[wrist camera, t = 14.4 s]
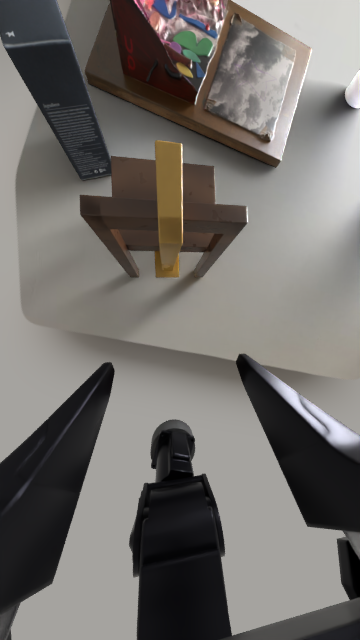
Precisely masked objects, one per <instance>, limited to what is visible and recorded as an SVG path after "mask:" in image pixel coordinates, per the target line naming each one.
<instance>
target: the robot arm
mask: <svg viewBox="0 0 360 640" xmlns="http://www.w3.org/2000/svg"><path fill="white" fill-rule="evenodd" d="M236 364H237V368H238V371H239V373H240V376H241V379H242V382H243V385H244V387H245V390H246V392H247V394H248V396H249V398H250V401H251V403H252V405H253V407H254V409H255V412H256V414H257V416H258V418H259V421H260V423H261V425H262V427H263V429H264V432H265V434H266V436H267V438H268V440H269V443H270V445H271V447H272V449H273V452H274V454H275V456H276V458H277V460H278V463H279V465H280V467H281V470H282V472H283V474H284V476H285V478H286V480H287V483H288V485H289V487H290V489H291V491H292V494H293V496H294V498H295V500H296V503H297V505H298V507H299V509H300V512H301V514H302V516H303V518H304V520H305V522H306V524H307V526H308V527H315V528H324V529H333V530H342V531H343V532H344V534H345V535H346V537H343V538H339V539H337V544H338V555H339V563H340V564H339V565H340V574H341V583H342V585H343V587H344V589H345V591H346V593H347V595H348V597H349V599H350V600H349V601H346V602H343V603H339V604H336V605H333V606H329V607H326V608H323V609H320V610H316V611H313V612H310V613H306V614H303V615H300V616H296V617H293V618H290V619H286V620H283V621H280V622H276V623H273V624H270V625H266V626H263V627H260V628H256V629H253V630H250V631H246V632H243V633H240V634H237V635H233V636H232V633H231V627H230V621H229V615H228V606H227V599H226V592H225V584H224V577H223V570H222V562H221V557H223V556H224V555H225V547H224V538H223V531H222V526H221V521H220V516H219V512H218V508H217V504H216V501H215V498H214V495H213V493H212V490H211V488H210V485H209V482H208V479H207V477H206V474H202V475H199V476H194V474H193V468H192V463H191V457H190V456H191V453H192V449H193V445H194V442H195V438H194V436H192V435H187V434H182V433H177V432H172V431H166V430H161V431H160V434H159V438H158V441H157V445H156V449H155V452H154V456H153V459H152V463H151V468H153V469H156V482H155V483H149V484H148V483H144V487H143V491H142V492H141V497H140V498H139V503H138V510H137V516H136V519H135V523H134V526H133V529H132V532H131V535H130V541H129V546H130V548H131V551H132V553H133V577H138V576H139V596H138V597H139V598H138V618H137V619H138V620H137V640H360V435H359V434H357V433H356V432H354V431H353V430H351V429H350V428H348V427H347V426H345V425H344V424H342V423H341V422H339V421H338V420H336V419H335V418H333V417H332V416H330V415H329V414H327V413H326V412H324V411H323V410H321V409H320V408H318V407H317V406H315V405H314V404H313V403H311V402H310V401H309V400H307V399H306V398H304V397H303V396H301V395H300V394H298V392H296V391H295V390H294V389H292V388H291V387H290V386H288V385H287V384H285V383H284V382H283V381H281V380H280V379H279V378H277V377H276V376H275V375H273V374H272V373H271V372H269V371H268V370H267V369H265V368H264V367H263V366H261V365H260V364H258V363H257V362H256V361H254V360H253V359H252V358H250V357H249V356H248V355H246V354H239V356H238V358H237V360H236ZM113 378H114V368H113V365H112V363H111V362H107V363H104V364H102V366H101V367H100V368H99V369H98V370H96V371H95V372H94V373H93V374H92V376H90V378H88V379H87V381H85V382H84V383H83V384H82V385H81V386H80V387H79V388H78V389H77V390H76V391H75V392H74V393H73V394H72V395H71V396H70V397H69V398H68V399H67V400H66V401H65V402H64V403H63V404H62V405H61V406H60V407H59V408H58V409H57V410H56V411H55V412H54V413H53V414H52V415H51V416H50V417H49V419H47V420H46V421H45V422H44V423H43V424H42V425H41V426H40V427H39V428H38V429H37V430H36V431H35V432H34V433H33V434H32V435H31V436H30V437H28V438H27V439H26V440H25V441H24V442H23V443H22V444H21V445H20V446H19V447H18V448H17V449H16V450H14V451H13V452H12V453H11V454H10V455H9V456H8V457H7V458H6V459H4V460H3V461H2V462H1V463H0V640H11V626H12V623H13V621H14V618H15V616H16V613H17V610H18V608H19V605H20V603H21V602H22V601H24V600H25V599H27V598H29V597H30V596H32V595H34V594H35V593H37V592H39V591H40V590H42V589H44V588H45V587H47V586H49V585H50V584H52V582H53V579H54V576H55V573H56V570H57V566H58V563H59V560H60V557H61V554H62V551H63V547H64V544H65V541H66V537H67V534H68V531H69V528H70V524H71V521H72V518H73V515H74V511H75V508H76V505H77V501H78V498H79V495H80V492H81V489H82V485H83V482H84V479H85V475H86V472H87V469H88V466H89V462H90V459H91V456H92V453H93V449H94V446H95V443H96V440H97V437H98V433H99V430H100V427H101V424H102V420H103V417H104V414H105V411H106V407H107V404H108V401H109V397H110V393H111V388H112V383H113ZM162 433H164V434H162ZM191 439H192V440H191ZM154 464H155V465H154Z"/></svg>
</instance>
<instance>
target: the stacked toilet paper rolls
mask: <svg viewBox="0 0 360 640" xmlns="http://www.w3.org/2000/svg"><path fill="white" fill-rule="evenodd" d="M345 98H346V101H347V102H348V104H349V105H350V106H351V107H353V108H360V69H359V71H358V72H357V74H356V75H355V77H354V78H353V80H352V81H351V83H350V84H349V86H348V87H347V89H346V91H345Z"/></svg>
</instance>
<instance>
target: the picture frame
mask: <svg viewBox="0 0 360 640" xmlns="http://www.w3.org/2000/svg"><path fill="white" fill-rule="evenodd" d="M311 51H312V48H310V47H308V46H307V45H305V44H304V43H302V42H300V41H298V40H297V39H295V38H294V37H292V36H290V35H289V34H287V33H285V32H283V31H282V30H280V29H278V28H277V27H275V26H273V25H272V24H270V23H268V22H266V21H265V20H263V19H262V18H260V17H258V16H257V15H255V14H253V13H251V12H250V11H248V10H246V9H245V8H243V7H241V6H239V5H238V4H236V3H234V2H233V1H231V0H110V3H109V5H108V8H107V11H106V13H105V16H104V19H103V21H102V24H101V27H100V30H99V32H98V35H97V38H96V41H95V43H94V46H93V49H92V51H91V54H90V57H89V59H88V62H87V65H86V68H85V74H86V77H87V80H88V83H89V84H91V85H93V86H96V87H97V88H100V89H102V90H104V91H107V92H109V93H111V94H113V95H115V96H118V97H120V98H122V99H124V100H126V101H129V102H131V103H133V104H135V105H138V106H140V107H142V108H144V109H146V110H149V111H151V112H154V113H155V114H157V115H160V116H162V117H165V118H166V119H169V120H171V121H174V122H176V123H177V124H180V125H182V126H185V127H187V128H189V129H191V130H194V131H196V132H198V133H200V134H202V135H205V136H207V137H209V138H211V139H214V140H216V141H218V142H220V143H222V144H225V145H227V146H229V147H231V148H234V149H236V150H238V151H240V152H243V153H245V154H247V155H249V156H251V157H254V158H256V159H258V160H260V161H263V162H265V163H266V164H269V165H271V166H274V167H275V168H276V167H277V166H278V165H279V163H280V162H281V159H282V156H283V152H284V148H285V145H286V141H287V137H288V134H289V130H290V127H291V123H292V119H293V116H294V112H295V108H296V105H297V101H298V97H299V94H300V90H301V87H302V83H303V80H304V76H305V73H306V69H307V66H308V62H309V58H310V54H311Z"/></svg>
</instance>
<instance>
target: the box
mask: <svg viewBox="0 0 360 640" xmlns="http://www.w3.org/2000/svg"><path fill="white" fill-rule="evenodd" d="M0 37H1V40H2V43H3V46H4V48H5V49H6V51H7V53H8V55H9V56H10V58H11V60H12V62H13V63H14V65H15V67H16V69H17V70H18V72H19V74H20V76H21V77H22V79H23V80H24V83H25V84H26V86H27V87H28V89H29V91H30V92H31V94H32V96H33V98H34V100H35V101H36V103H37V105H38V107H39V108H40V110H41V112H42V113H43V115H44V117H45V119H46V120H47V122H48V124H49V125H50V127H51V129H52V131H53V132H54V134H55V136H56V138H57V139H58V141H59V143H60V144H61V146H62V148H63V149H64V151H65V153H66V155H67V156H68V158H69V160H70V162H71V163H72V165H73V167H74V168H75V170H76V172H77V174H78V175H79V177H80V179H81V180H86V179H93V178H97V177H103V176H107V175H111V159H110V156H109V153H108V150H107V147H106V144H105V141H104V138H103V135H102V132H101V129H100V126H99V123H98V120H97V117H96V114H95V111H94V108H93V105H92V102H91V99H90V96H89V93H88V90H87V87H86V84H85V81H84V77H83V74H82V71H81V69H80V66H79V62H78V59H77V56H76V53H75V51H74V47H73V45H72V42H71V39H70V36H69V34H68V31H67V28H66V25H65V22H64V20H63V17H62V14H61V11H60V9H59V6H58V3H57V0H0Z"/></svg>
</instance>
